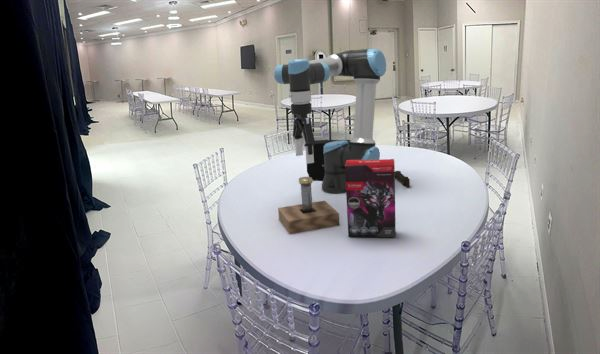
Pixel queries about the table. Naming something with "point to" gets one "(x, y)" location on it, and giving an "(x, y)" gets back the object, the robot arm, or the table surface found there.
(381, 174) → the graphics card box
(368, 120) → the robot arm
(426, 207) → the table surface
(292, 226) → the hole block
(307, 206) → the pin
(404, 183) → the hand tool
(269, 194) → the table surface
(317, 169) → the black hard case
